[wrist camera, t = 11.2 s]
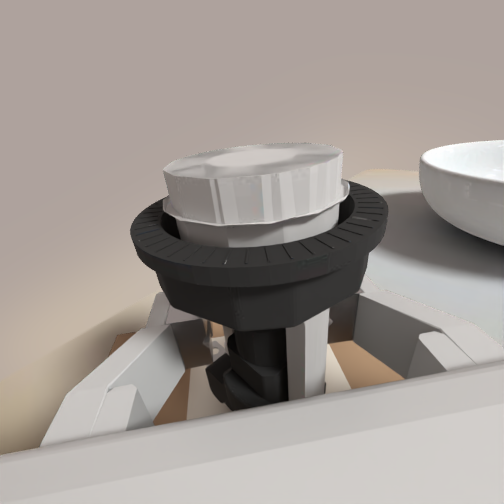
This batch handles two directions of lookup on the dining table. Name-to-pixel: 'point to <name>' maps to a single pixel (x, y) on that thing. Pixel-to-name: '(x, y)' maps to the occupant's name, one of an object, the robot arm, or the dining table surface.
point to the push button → (262, 259)
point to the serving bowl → (467, 186)
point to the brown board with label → (206, 404)
